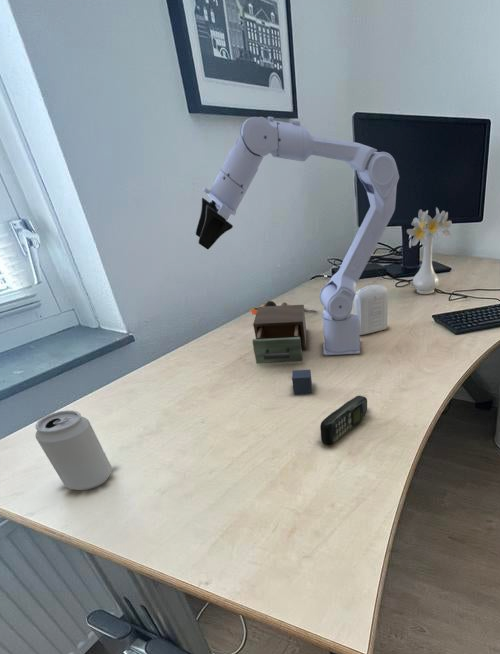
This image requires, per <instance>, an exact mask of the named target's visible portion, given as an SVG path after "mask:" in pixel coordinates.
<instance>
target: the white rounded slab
mask: <svg viewBox="0 0 500 654" xmlns="http://www.w3.org/2000/svg"><path fill="white" fill-rule="evenodd" d="M388 305H389V293H388V289H387V287H386V286H383V285H379V284H371V285H367V286H364V287H361V288H360V289H357V290H356V295H355V297H354V299H353V314H354V315H358V319H359V336H365V335H368V334H371V333H375V332H381V331H383V330H387V329H388V314H389V313H388V311H389V309H388V308H389V307H388Z"/></svg>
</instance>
